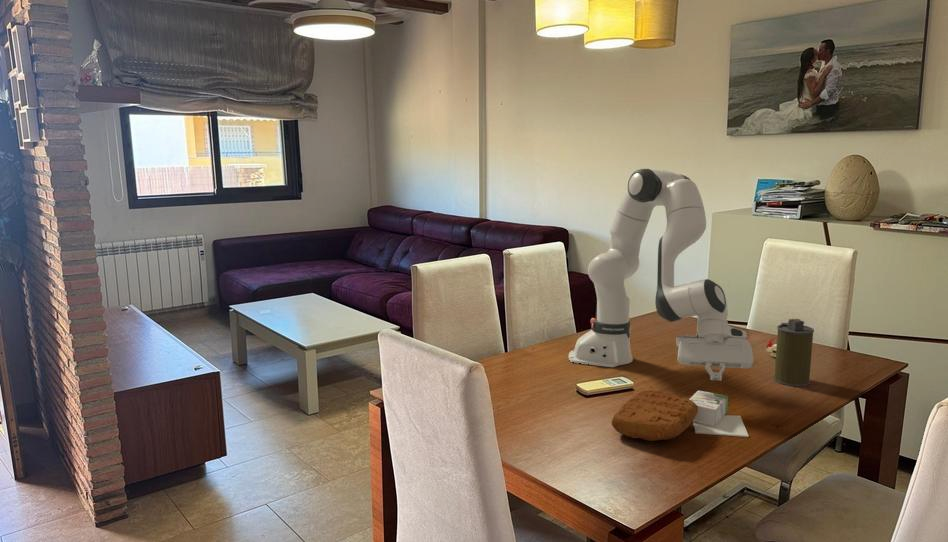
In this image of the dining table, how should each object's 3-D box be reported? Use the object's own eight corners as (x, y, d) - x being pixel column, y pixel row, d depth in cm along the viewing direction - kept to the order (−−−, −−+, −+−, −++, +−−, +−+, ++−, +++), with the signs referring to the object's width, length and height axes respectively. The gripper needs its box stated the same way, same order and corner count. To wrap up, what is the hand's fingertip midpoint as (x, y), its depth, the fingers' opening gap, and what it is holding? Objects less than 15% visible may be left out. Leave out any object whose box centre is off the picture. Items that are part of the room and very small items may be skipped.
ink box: (728, 395, 179) (716, 409, 170) (727, 412, 180) (715, 427, 171) (697, 389, 184) (684, 402, 175) (697, 405, 185) (683, 419, 176)
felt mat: (695, 433, 168) (695, 431, 168) (690, 413, 181) (690, 412, 181) (748, 437, 165) (748, 435, 165) (740, 417, 178) (740, 415, 178)
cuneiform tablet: (644, 410, 183) (644, 384, 182) (703, 426, 172) (704, 398, 171) (605, 437, 167) (605, 407, 166) (668, 456, 156) (669, 424, 155)
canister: (817, 385, 201) (822, 323, 197) (787, 387, 199) (791, 325, 196) (794, 373, 211) (799, 314, 208) (765, 376, 210) (769, 316, 206)
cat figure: (770, 344, 248) (763, 357, 226) (772, 322, 247) (765, 333, 225) (799, 348, 243) (794, 361, 221) (801, 325, 242) (796, 336, 220)
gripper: (676, 328, 187) (677, 372, 179) (752, 332, 182) (756, 376, 174) (675, 339, 192) (676, 381, 184) (748, 342, 187) (752, 386, 179)
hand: (716, 379), depth 179 cm, fingers closed
